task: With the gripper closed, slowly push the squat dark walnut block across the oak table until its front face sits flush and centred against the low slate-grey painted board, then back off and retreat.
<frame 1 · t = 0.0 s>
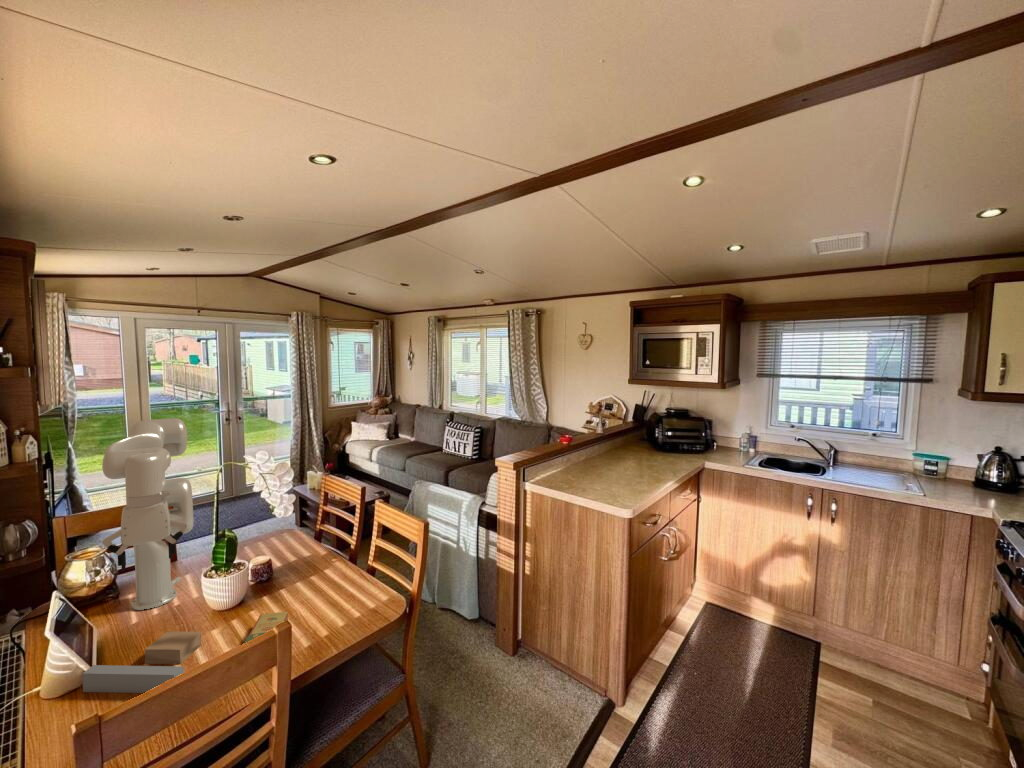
hand: (147, 562, 115), 31 cm above the table, tool pointing down, fingers open, 9 cm apart
walnut block: (174, 655, 124), on the table
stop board: (134, 688, 111), on the table
carton: (266, 641, 131), on the table
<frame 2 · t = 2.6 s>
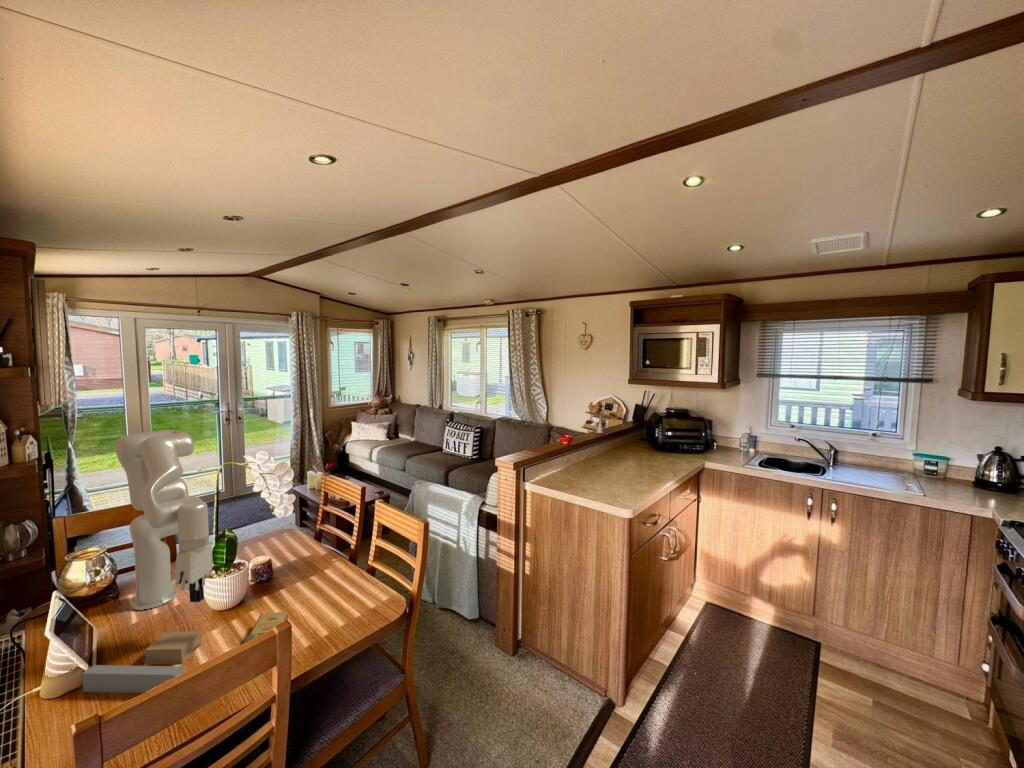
hand: (197, 600, 132), 11 cm above the table, tool pointing down, fingers closed
nothing on the table moved.
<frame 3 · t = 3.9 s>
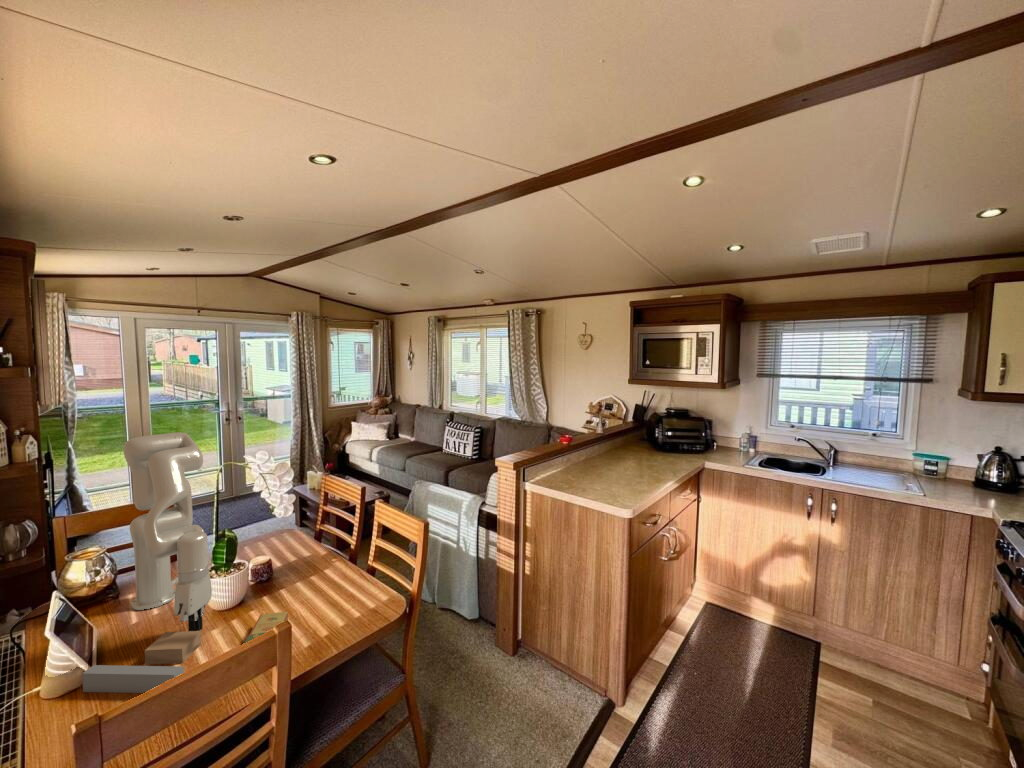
hand: (195, 630, 133), 2 cm above the table, tool pointing down, fingers closed
nothing on the table moved.
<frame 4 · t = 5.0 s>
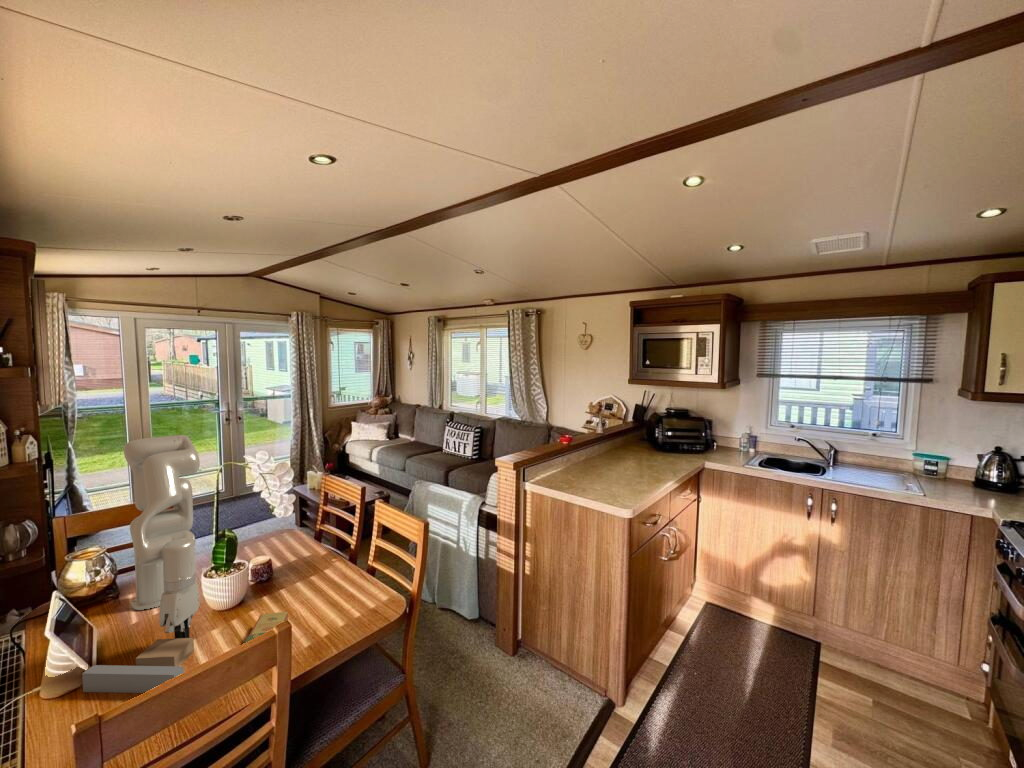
hand: (182, 641, 127), 2 cm above the table, tool pointing down, fingers closed
walnut block: (166, 662, 121), on the table, touching gripper
everything else where it was.
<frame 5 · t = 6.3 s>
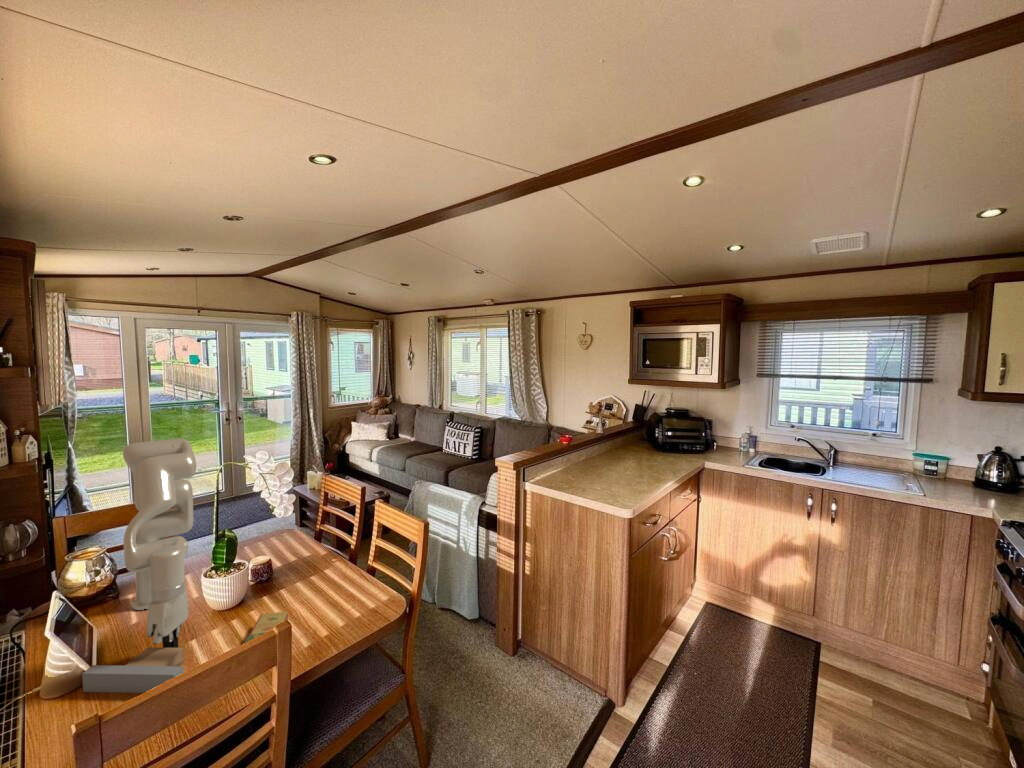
hand: (170, 651, 123), 2 cm above the table, tool pointing down, fingers closed
walnut block: (154, 673, 117), on the table, touching gripper, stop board
everything else where it was.
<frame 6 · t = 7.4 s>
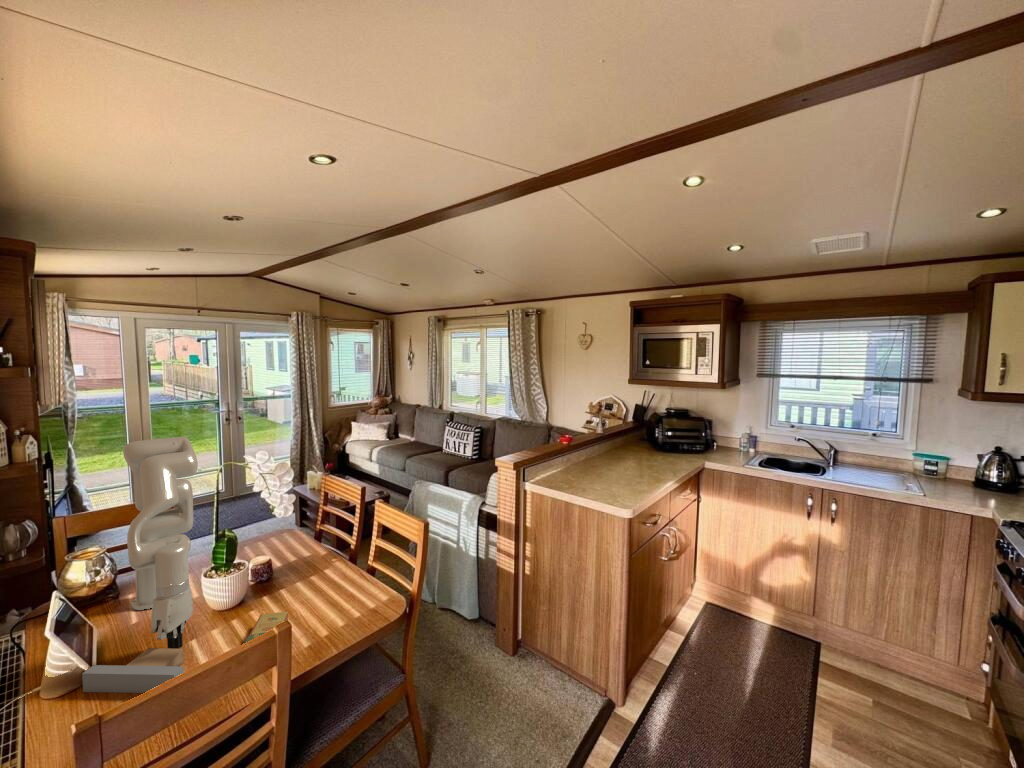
hand: (175, 648, 125), 1 cm above the table, tool pointing down, fingers closed
walnut block: (154, 674, 117), on the table
everything else where it was.
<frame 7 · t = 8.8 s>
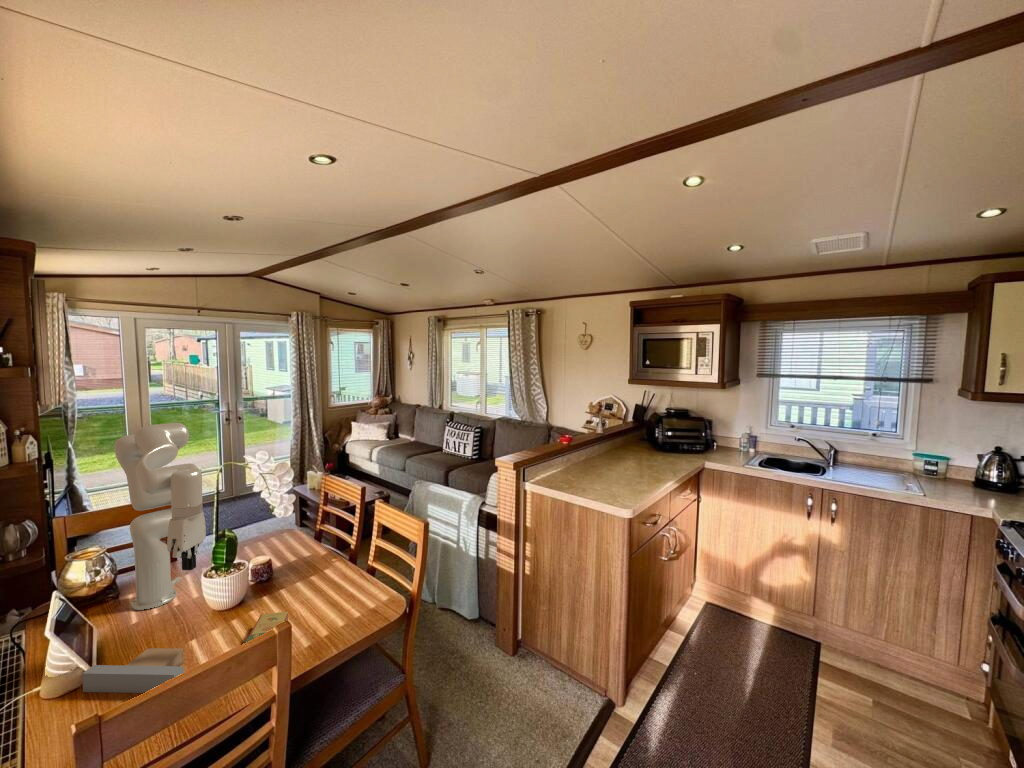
hand: (189, 568, 130), 22 cm above the table, tool pointing down, fingers closed
nothing on the table moved.
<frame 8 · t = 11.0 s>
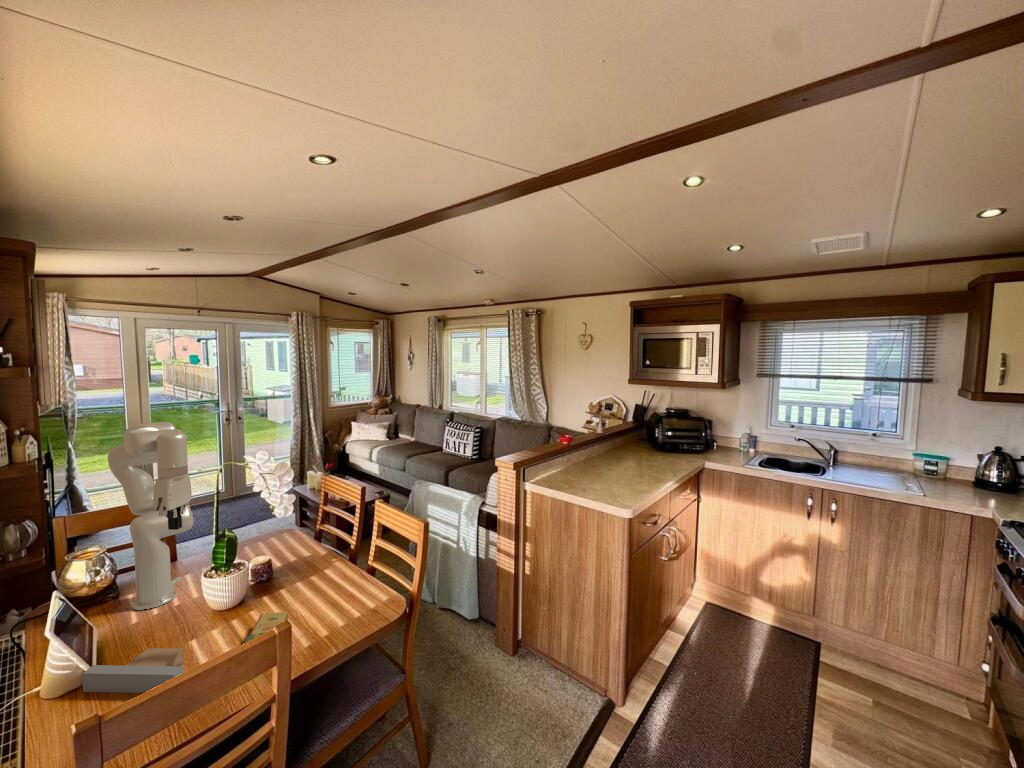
hand: (175, 528, 136), 32 cm above the table, tool pointing down, fingers closed
nothing on the table moved.
at the end: walnut block 0.7 cm from the target spot on the table beside the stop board, on the table; walnut block tilted 0° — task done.
